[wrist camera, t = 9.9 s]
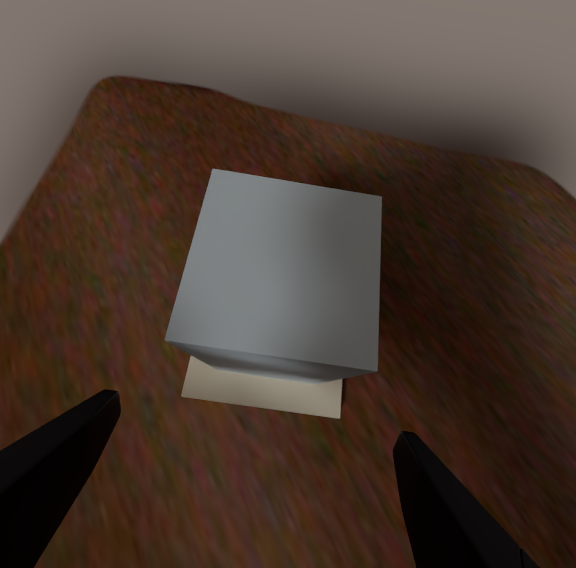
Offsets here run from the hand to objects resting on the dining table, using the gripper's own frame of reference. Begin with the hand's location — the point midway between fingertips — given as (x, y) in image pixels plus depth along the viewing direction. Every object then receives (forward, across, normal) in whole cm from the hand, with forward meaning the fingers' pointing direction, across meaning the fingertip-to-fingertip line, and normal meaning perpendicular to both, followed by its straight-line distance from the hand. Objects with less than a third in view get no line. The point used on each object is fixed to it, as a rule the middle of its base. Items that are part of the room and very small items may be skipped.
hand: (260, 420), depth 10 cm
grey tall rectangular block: (+9, 0, +2) cm, 9 cm away
